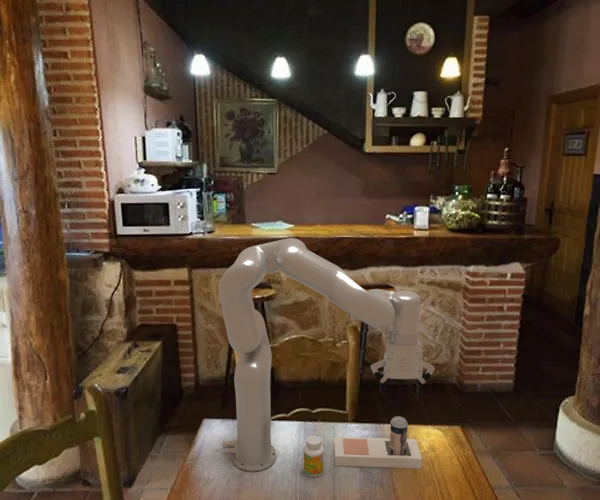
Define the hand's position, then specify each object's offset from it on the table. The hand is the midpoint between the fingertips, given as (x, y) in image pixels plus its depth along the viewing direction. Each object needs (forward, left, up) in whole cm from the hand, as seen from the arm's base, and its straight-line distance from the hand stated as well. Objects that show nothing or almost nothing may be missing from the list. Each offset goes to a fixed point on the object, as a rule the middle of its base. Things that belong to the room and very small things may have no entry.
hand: (401, 394), depth 135 cm
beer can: (0, 0, -20) cm, 20 cm away
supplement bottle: (-24, -7, -20) cm, 32 cm away
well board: (-6, 0, -20) cm, 21 cm away
